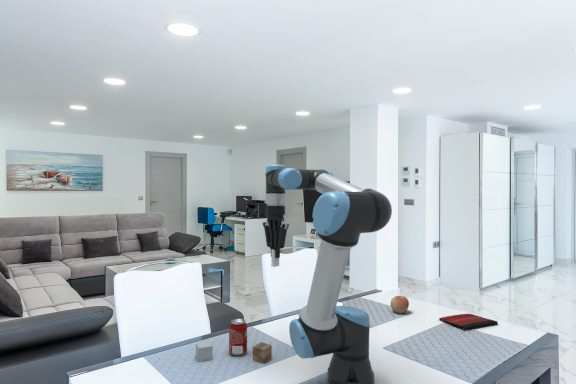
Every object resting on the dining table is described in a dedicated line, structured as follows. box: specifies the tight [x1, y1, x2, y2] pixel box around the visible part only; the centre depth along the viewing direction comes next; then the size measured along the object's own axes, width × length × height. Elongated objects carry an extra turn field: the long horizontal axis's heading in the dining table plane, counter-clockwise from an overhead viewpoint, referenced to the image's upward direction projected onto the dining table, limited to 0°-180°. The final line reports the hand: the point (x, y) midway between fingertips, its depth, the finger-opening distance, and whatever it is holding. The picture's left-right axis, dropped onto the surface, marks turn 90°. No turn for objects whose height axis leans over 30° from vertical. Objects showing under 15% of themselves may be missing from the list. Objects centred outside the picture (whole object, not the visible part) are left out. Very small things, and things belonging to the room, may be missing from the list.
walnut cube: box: [252, 341, 273, 364], centre depth 141 cm, size 5×5×5 cm
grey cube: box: [195, 340, 214, 363], centre depth 142 cm, size 5×5×5 cm
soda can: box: [228, 318, 248, 356], centre depth 146 cm, size 7×7×12 cm
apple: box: [390, 295, 410, 314], centre depth 195 cm, size 9×9×8 cm
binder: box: [438, 313, 499, 332], centre depth 182 cm, size 16×2×21 cm
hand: (275, 266), depth 149 cm, fingers closed
